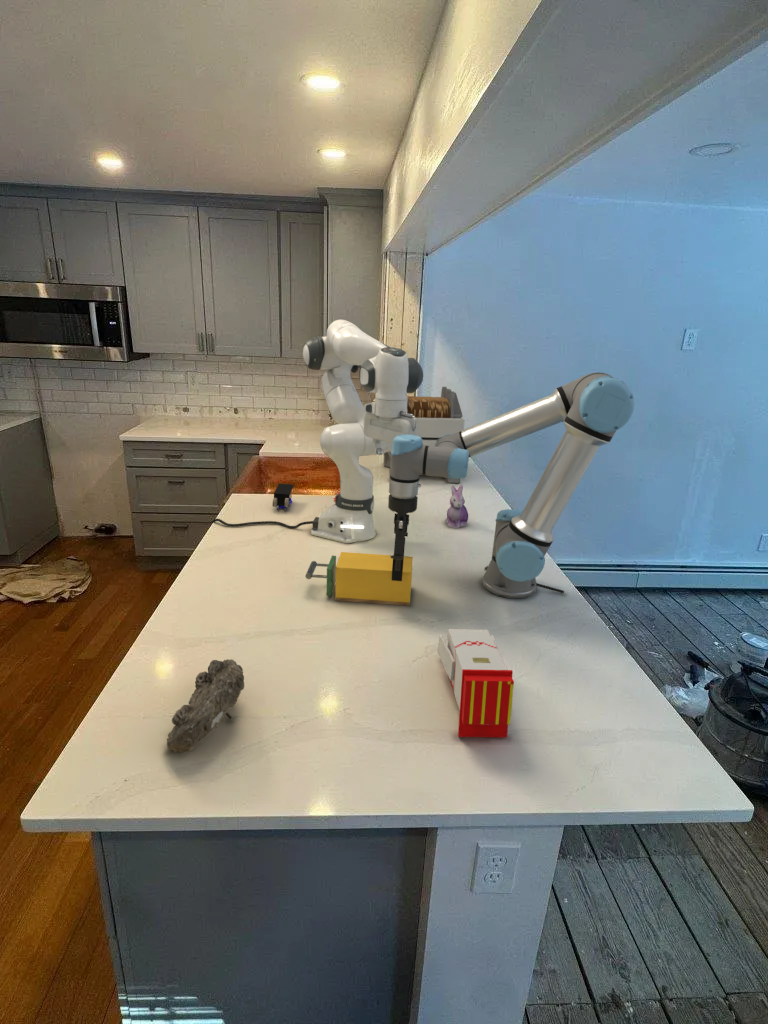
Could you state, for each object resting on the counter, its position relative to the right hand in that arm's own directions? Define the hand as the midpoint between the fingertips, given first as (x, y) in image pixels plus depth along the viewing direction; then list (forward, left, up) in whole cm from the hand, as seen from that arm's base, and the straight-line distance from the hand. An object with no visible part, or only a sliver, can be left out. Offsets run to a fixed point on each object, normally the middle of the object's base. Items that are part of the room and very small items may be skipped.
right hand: (397, 569), depth 154 cm
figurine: (-34, -52, -8) cm, 63 cm away
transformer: (-38, -120, -8) cm, 126 cm away
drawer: (+12, -3, -7) cm, 14 cm away
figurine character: (+28, -76, -8) cm, 82 cm away
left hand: (0, -18, +26) cm, 32 cm away
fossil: (+45, +43, -8) cm, 63 cm away
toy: (-6, +43, -8) cm, 44 cm away
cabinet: (+6, -1, -8) cm, 10 cm away
